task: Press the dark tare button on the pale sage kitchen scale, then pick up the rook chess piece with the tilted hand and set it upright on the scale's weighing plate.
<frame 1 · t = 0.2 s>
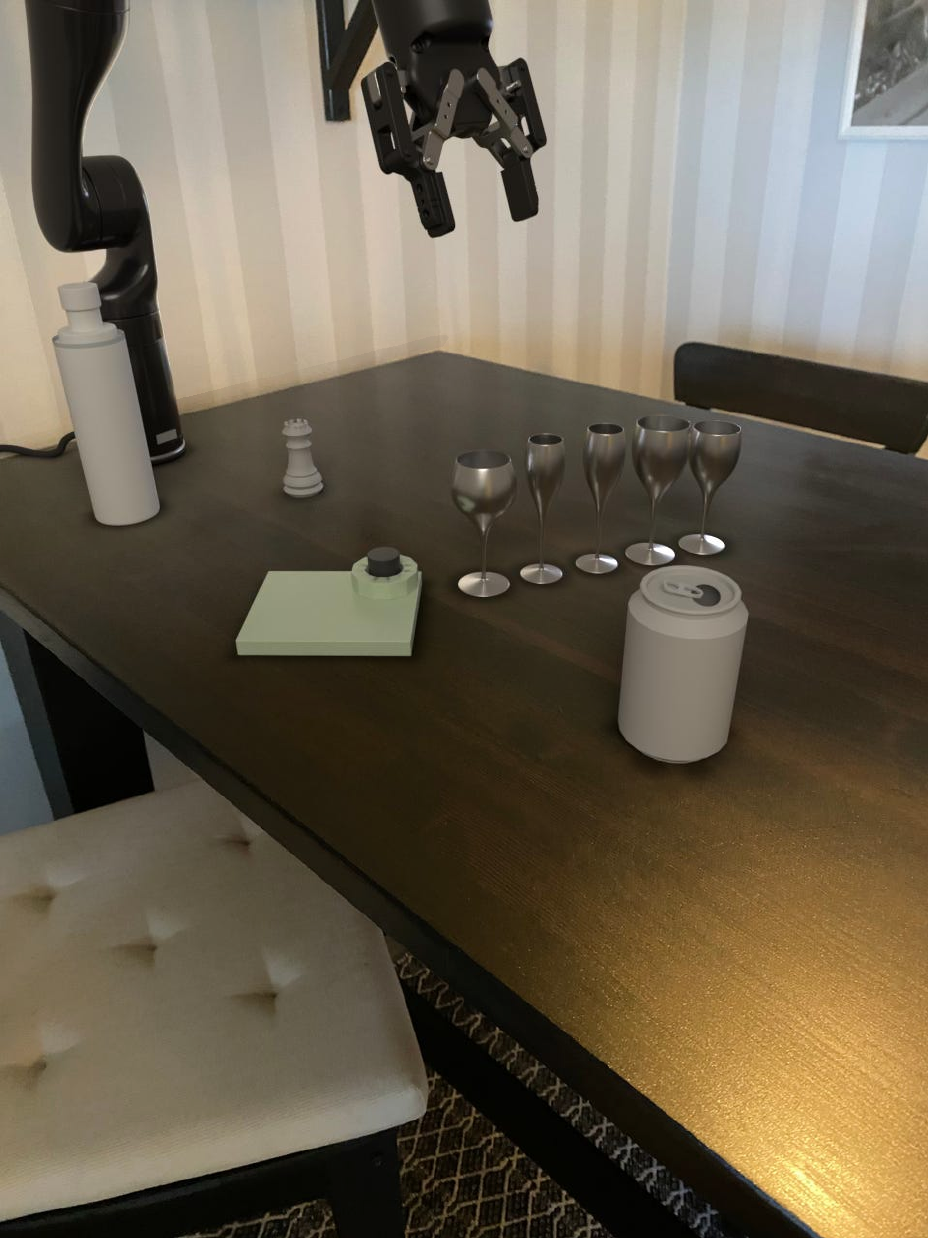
hand: (486, 226, 64), 30 cm above the table, tool tilted 20°, fingers open, 8 cm apart
goblet set: (593, 566, 85), on the table
rook chess piece: (304, 492, 102), on the table
grey bottle: (128, 514, 97), on the table
scale: (335, 617, 77), on the table
tare button: (384, 562, 78), point 4 cm above the table, slide at 0.1 cm
can: (671, 738, 63), on the table
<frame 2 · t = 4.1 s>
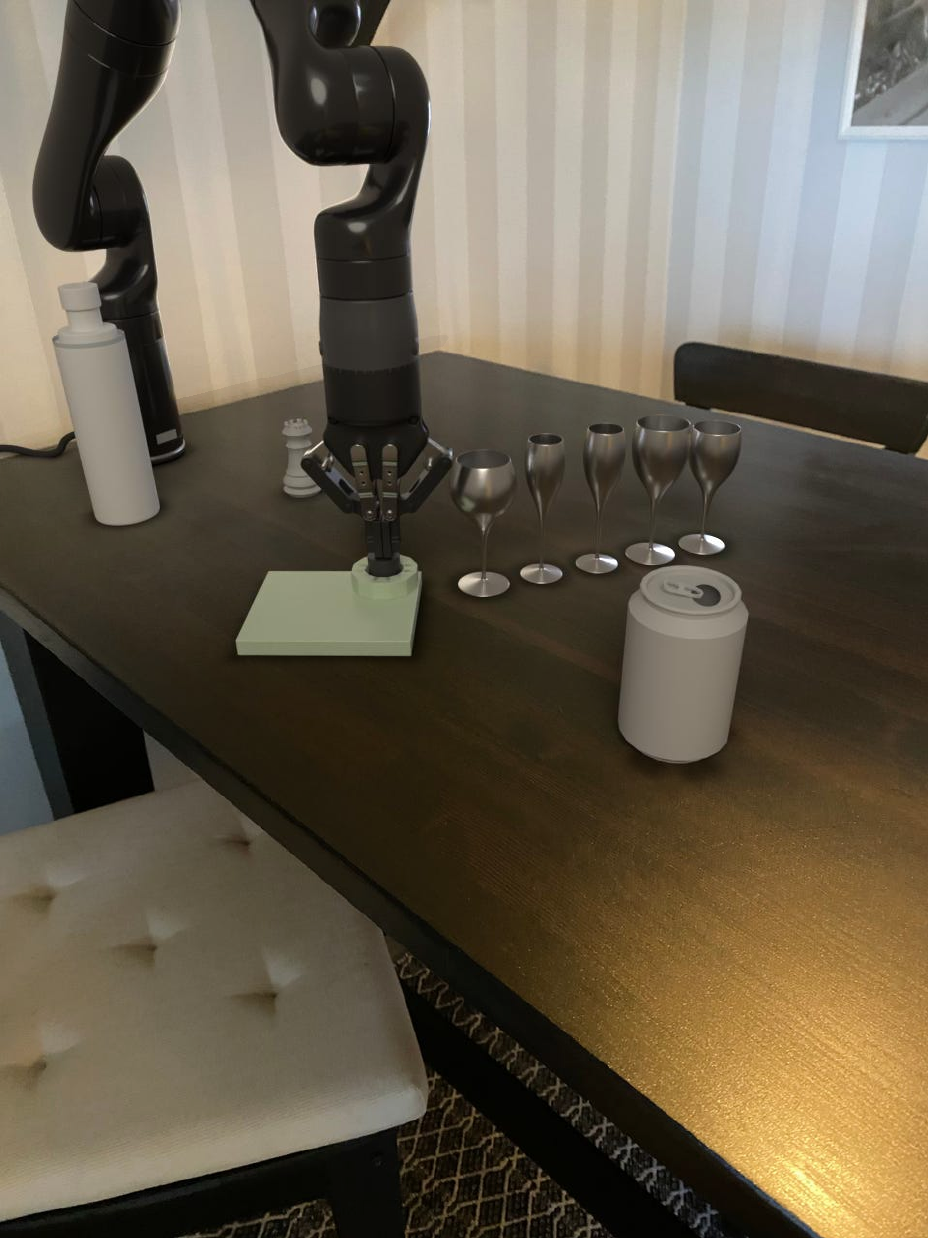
hand: (384, 555, 78), 4 cm above the table, tool pointing down, fingers closed
tare button: (384, 564, 78), point 3 cm above the table, slide at 0.0 cm, touching gripper
everything else where it was.
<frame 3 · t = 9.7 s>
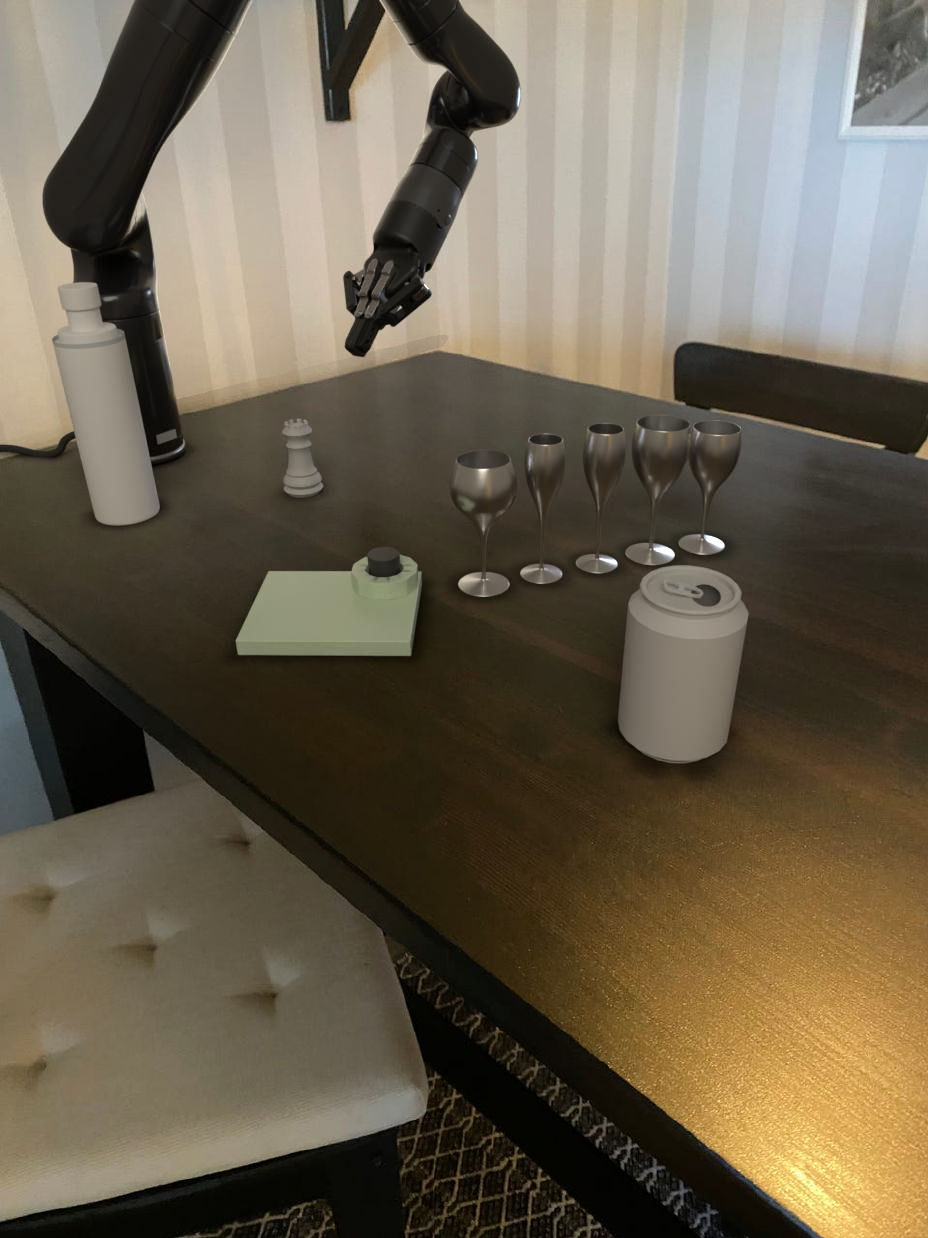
hand: (353, 352, 102), 13 cm above the table, tool tilted 45°, fingers closed
tare button: (384, 562, 78), point 4 cm above the table, slide at 0.1 cm
everything else where it was.
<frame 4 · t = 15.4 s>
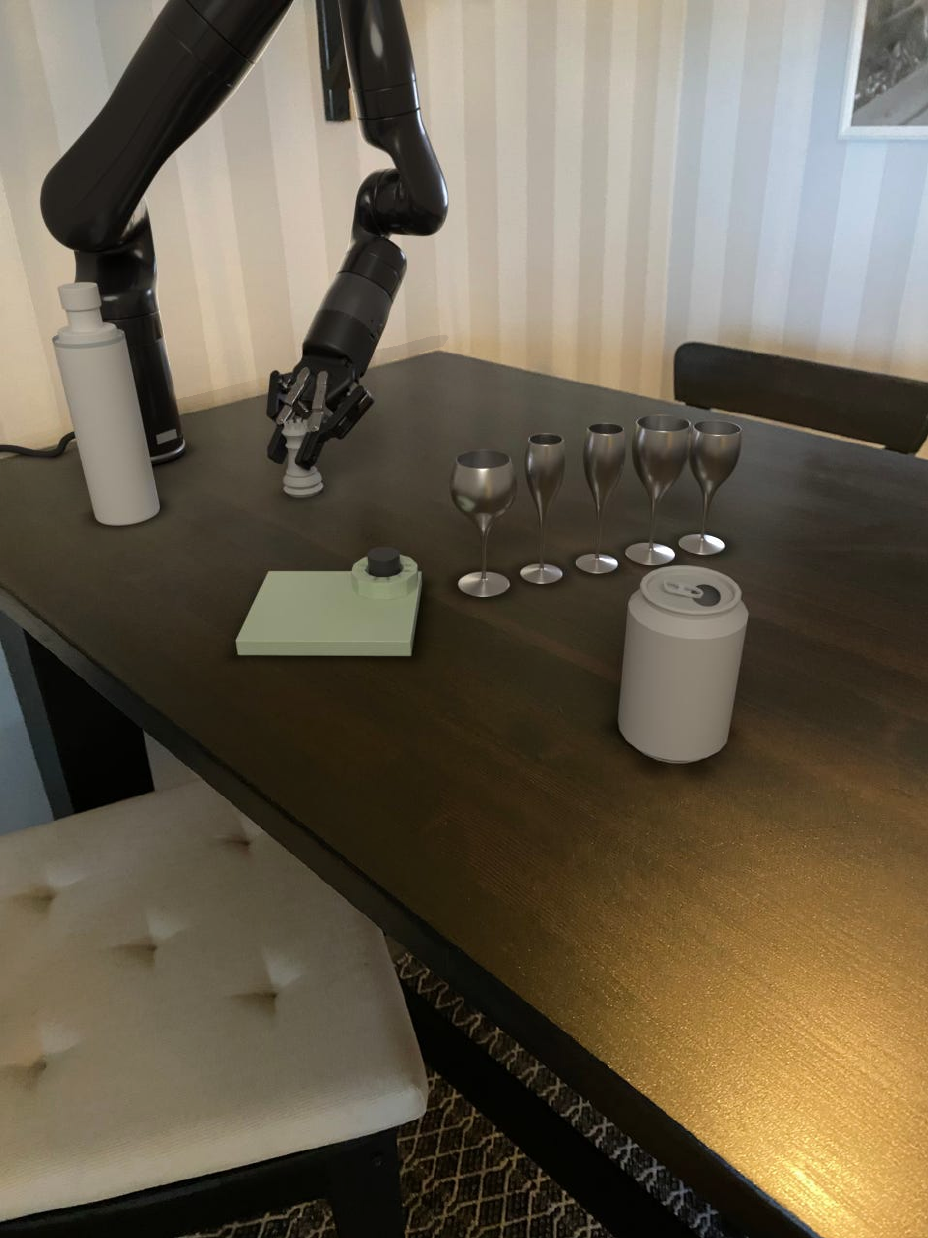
hand: (288, 463, 98), 4 cm above the table, tool tilted 45°, fingers closed on rook chess piece, 3 cm apart
rook chess piece: (304, 492, 102), on the table, touching gripper
everything else where it was.
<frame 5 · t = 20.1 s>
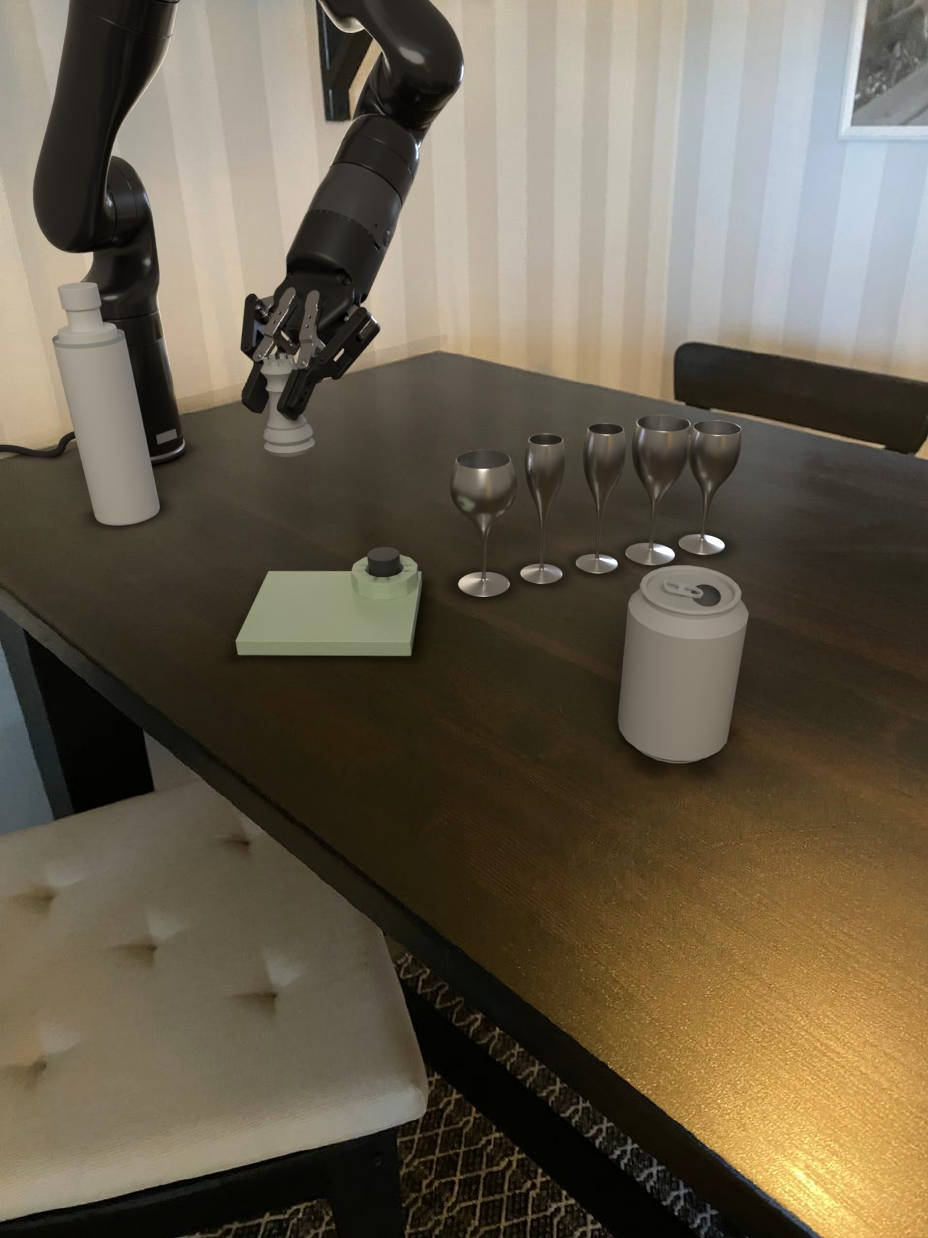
hand: (268, 411, 76), 16 cm above the table, tool tilted 45°, fingers closed on rook chess piece, 3 cm apart
rook chess piece: (290, 451, 79), point 12 cm above the table, touching gripper
everything else where it was.
when the fingers open (5 cm above the table, at t = 24.7 s): rook chess piece stays where it is, resting on scale.
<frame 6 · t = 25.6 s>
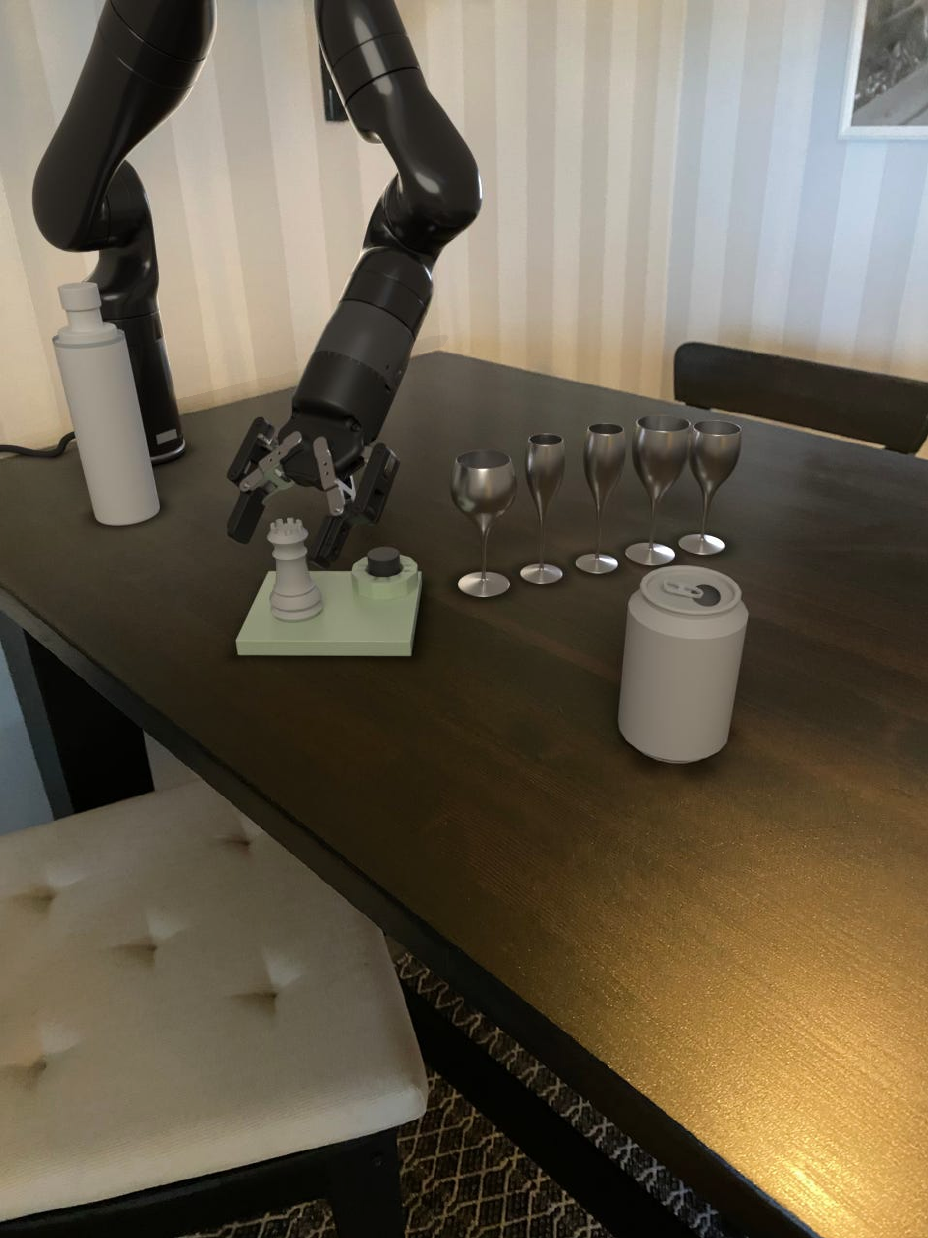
hand: (276, 552, 71), 8 cm above the table, tool tilted 45°, fingers open, 8 cm apart
rook chess piece: (297, 613, 76), point 1 cm above the table, touching scale
everything else where it was.
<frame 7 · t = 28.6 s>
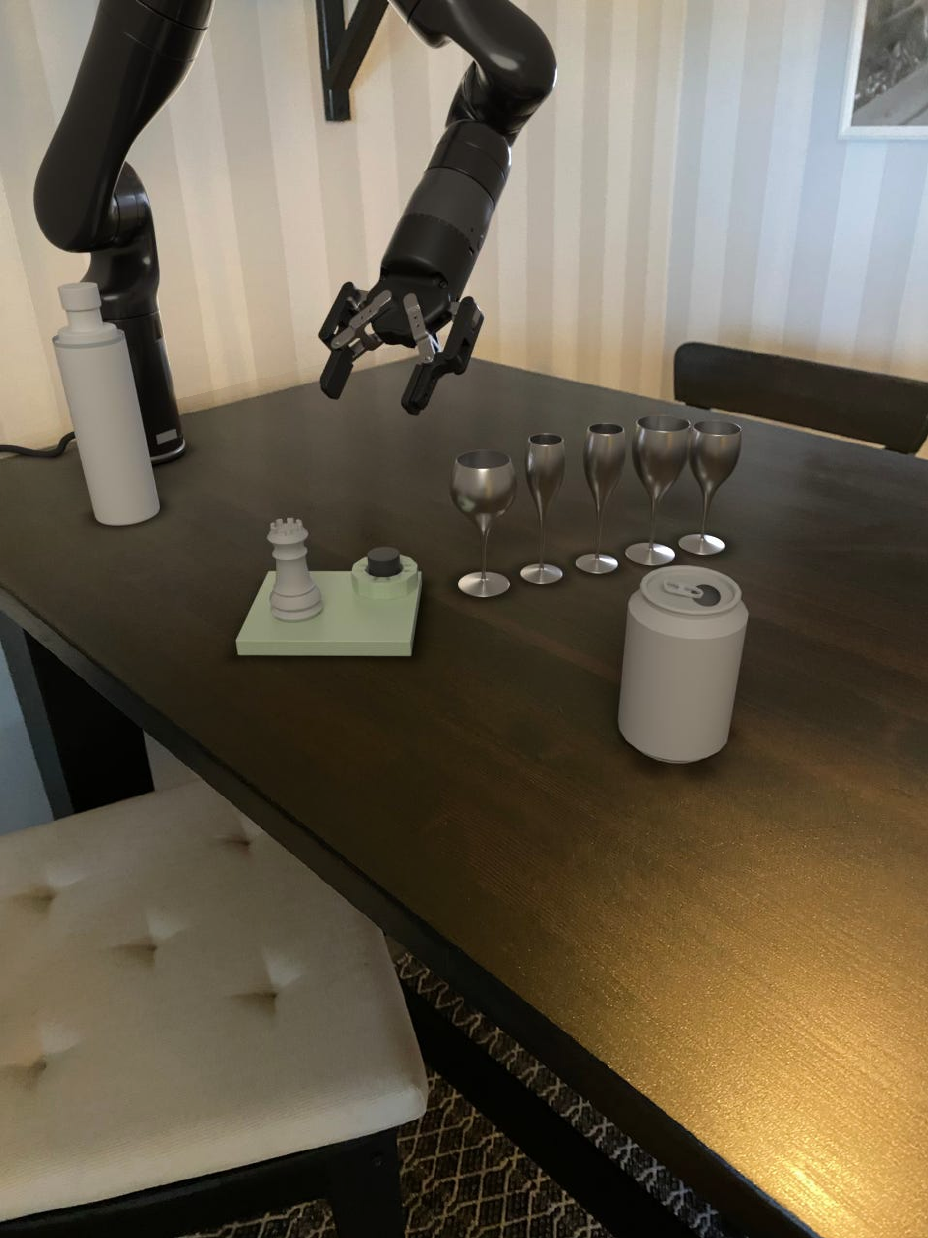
hand: (367, 402, 76), 16 cm above the table, tool tilted 45°, fingers open, 8 cm apart
nothing on the table moved.
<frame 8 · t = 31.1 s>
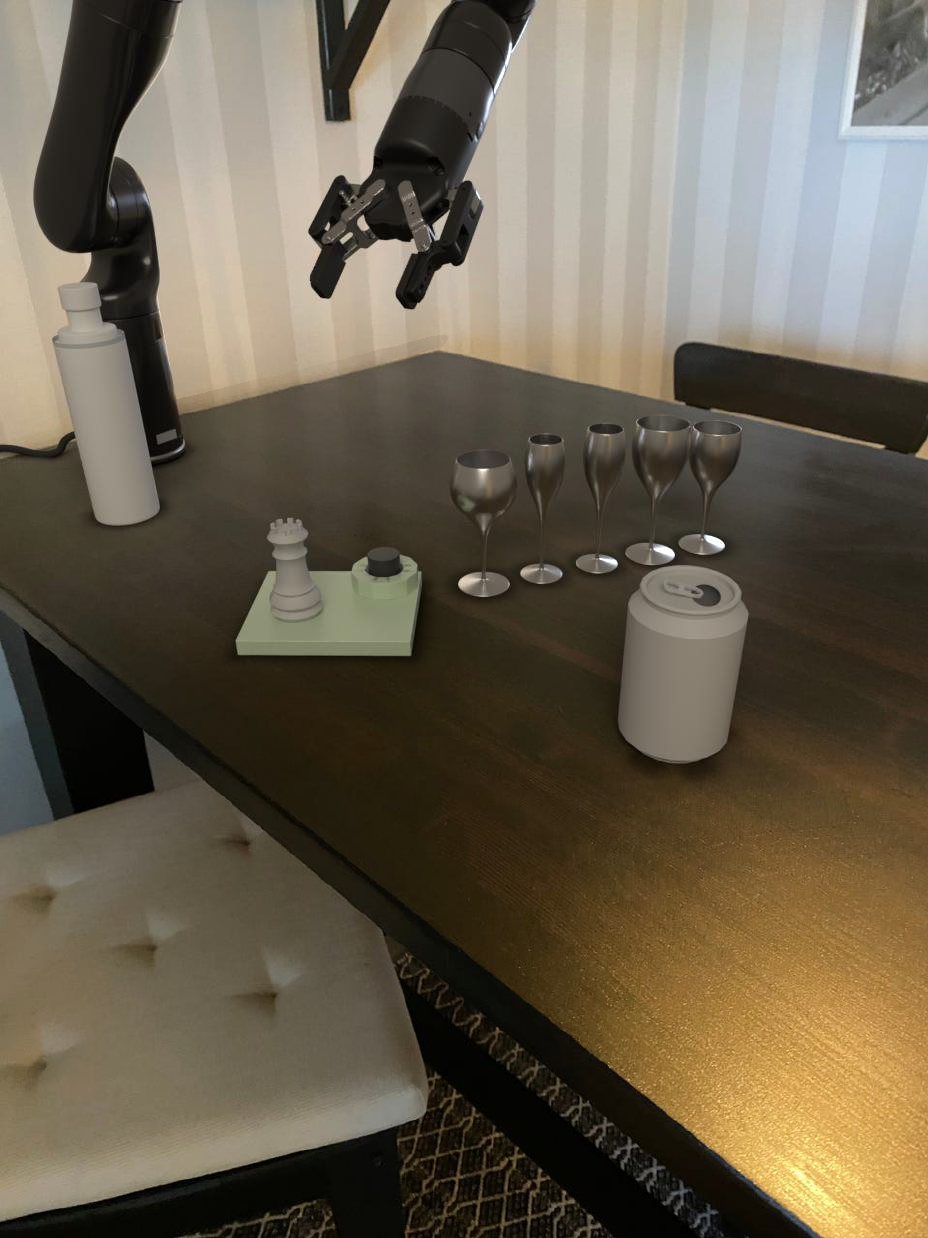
hand: (360, 297, 72), 25 cm above the table, tool tilted 45°, fingers open, 8 cm apart
nothing on the table moved.
at the end: tare button pushed in 0.9 cm at the most during the clip, back to where it started at the end; rook chess piece inside the target area on the scale (3.2 cm from its centre), point 1.2 cm above the scale's base; rook chess piece touching scale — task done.
